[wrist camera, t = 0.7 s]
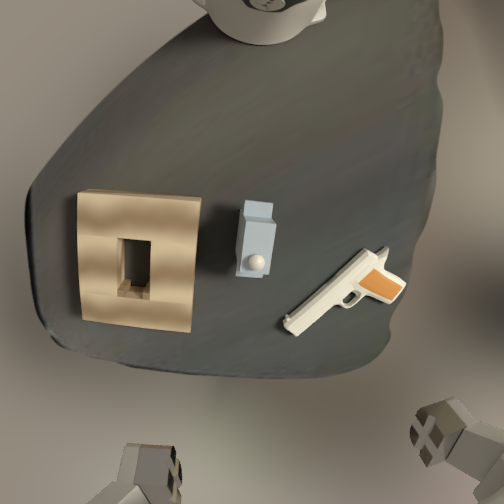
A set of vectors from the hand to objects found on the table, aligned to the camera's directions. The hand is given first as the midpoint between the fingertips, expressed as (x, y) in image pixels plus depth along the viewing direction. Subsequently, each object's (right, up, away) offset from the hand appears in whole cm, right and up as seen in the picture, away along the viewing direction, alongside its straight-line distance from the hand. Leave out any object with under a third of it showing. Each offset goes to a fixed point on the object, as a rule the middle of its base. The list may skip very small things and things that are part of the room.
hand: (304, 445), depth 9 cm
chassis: (-17, +5, +34) cm, 39 cm away
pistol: (+14, -1, +41) cm, 43 cm away
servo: (-2, +9, +35) cm, 36 cm away
